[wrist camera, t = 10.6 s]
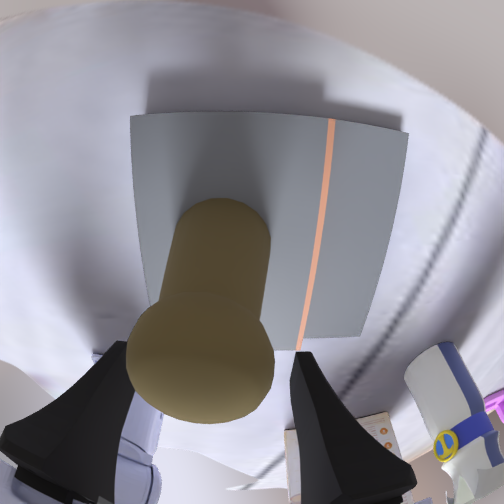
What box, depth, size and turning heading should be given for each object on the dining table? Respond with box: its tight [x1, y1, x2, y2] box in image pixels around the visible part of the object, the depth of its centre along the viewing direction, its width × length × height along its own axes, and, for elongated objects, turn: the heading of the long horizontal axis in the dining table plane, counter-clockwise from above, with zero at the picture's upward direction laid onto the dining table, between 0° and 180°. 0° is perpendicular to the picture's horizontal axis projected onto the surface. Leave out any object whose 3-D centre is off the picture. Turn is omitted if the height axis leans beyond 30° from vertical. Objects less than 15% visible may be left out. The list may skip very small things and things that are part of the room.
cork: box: [126, 198, 275, 424], centre depth 13 cm, size 6×6×11 cm
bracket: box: [484, 389, 504, 423], centre depth 34 cm, size 13×6×7 cm, turn 88°
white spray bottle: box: [404, 342, 504, 504], centre depth 17 cm, size 8×9×25 cm
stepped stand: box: [130, 111, 409, 350], centre depth 19 cm, size 17×17×3 cm
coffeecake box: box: [284, 412, 414, 504], centre depth 26 cm, size 15×7×20 cm, turn 97°
